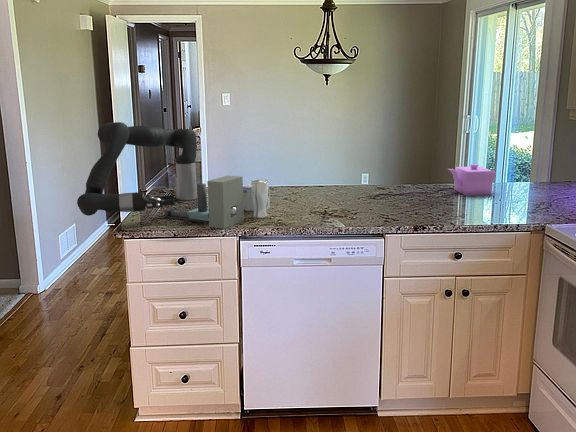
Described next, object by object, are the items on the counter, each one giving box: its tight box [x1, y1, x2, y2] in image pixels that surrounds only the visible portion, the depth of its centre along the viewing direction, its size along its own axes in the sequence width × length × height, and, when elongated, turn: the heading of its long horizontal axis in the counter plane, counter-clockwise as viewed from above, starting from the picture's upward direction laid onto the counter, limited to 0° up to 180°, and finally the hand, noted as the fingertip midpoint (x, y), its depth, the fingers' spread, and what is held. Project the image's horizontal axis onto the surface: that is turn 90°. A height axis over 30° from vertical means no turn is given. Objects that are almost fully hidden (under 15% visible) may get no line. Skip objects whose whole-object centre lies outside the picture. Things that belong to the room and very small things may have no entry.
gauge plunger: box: [231, 207, 237, 214], centre depth 220 cm, size 10×4×4 cm, turn 62°
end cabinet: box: [206, 174, 245, 230], centre depth 219 cm, size 8×14×18 cm, turn 152°
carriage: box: [187, 183, 209, 221], centre depth 224 cm, size 11×7×14 cm, turn 62°
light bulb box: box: [243, 183, 271, 212], centre depth 243 cm, size 11×7×11 cm, turn 71°
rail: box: [164, 207, 209, 224], centre depth 228 cm, size 25×5×3 cm, turn 62°
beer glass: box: [251, 179, 269, 219], centre depth 230 cm, size 7×7×15 cm
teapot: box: [447, 163, 497, 196], centre depth 275 cm, size 15×25×14 cm, turn 95°
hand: (174, 200), depth 221 cm, fingers open, 8 cm apart
